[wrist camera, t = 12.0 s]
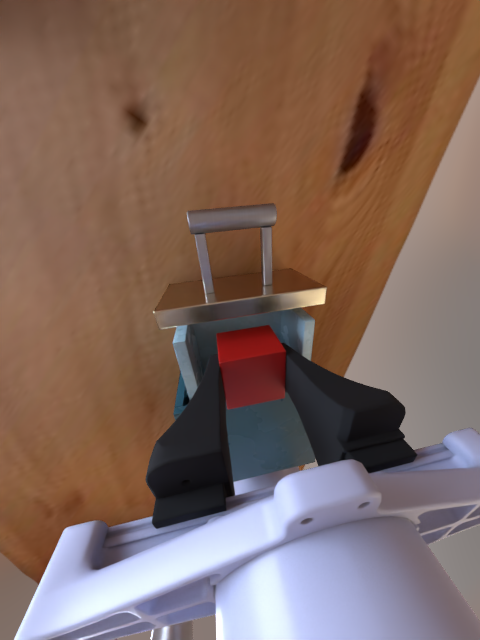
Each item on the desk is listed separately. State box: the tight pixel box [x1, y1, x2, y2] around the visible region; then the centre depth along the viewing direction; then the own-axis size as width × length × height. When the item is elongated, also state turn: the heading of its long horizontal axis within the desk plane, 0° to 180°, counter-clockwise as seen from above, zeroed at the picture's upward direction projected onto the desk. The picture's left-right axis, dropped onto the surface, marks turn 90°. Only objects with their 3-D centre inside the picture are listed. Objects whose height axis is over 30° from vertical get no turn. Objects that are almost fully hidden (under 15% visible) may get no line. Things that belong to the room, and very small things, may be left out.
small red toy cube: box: [216, 325, 286, 410], centre depth 13 cm, size 4×4×3 cm
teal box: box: [174, 371, 315, 482], centre depth 20 cm, size 11×12×7 cm
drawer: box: [154, 203, 327, 400], centre depth 15 cm, size 15×10×6 cm
